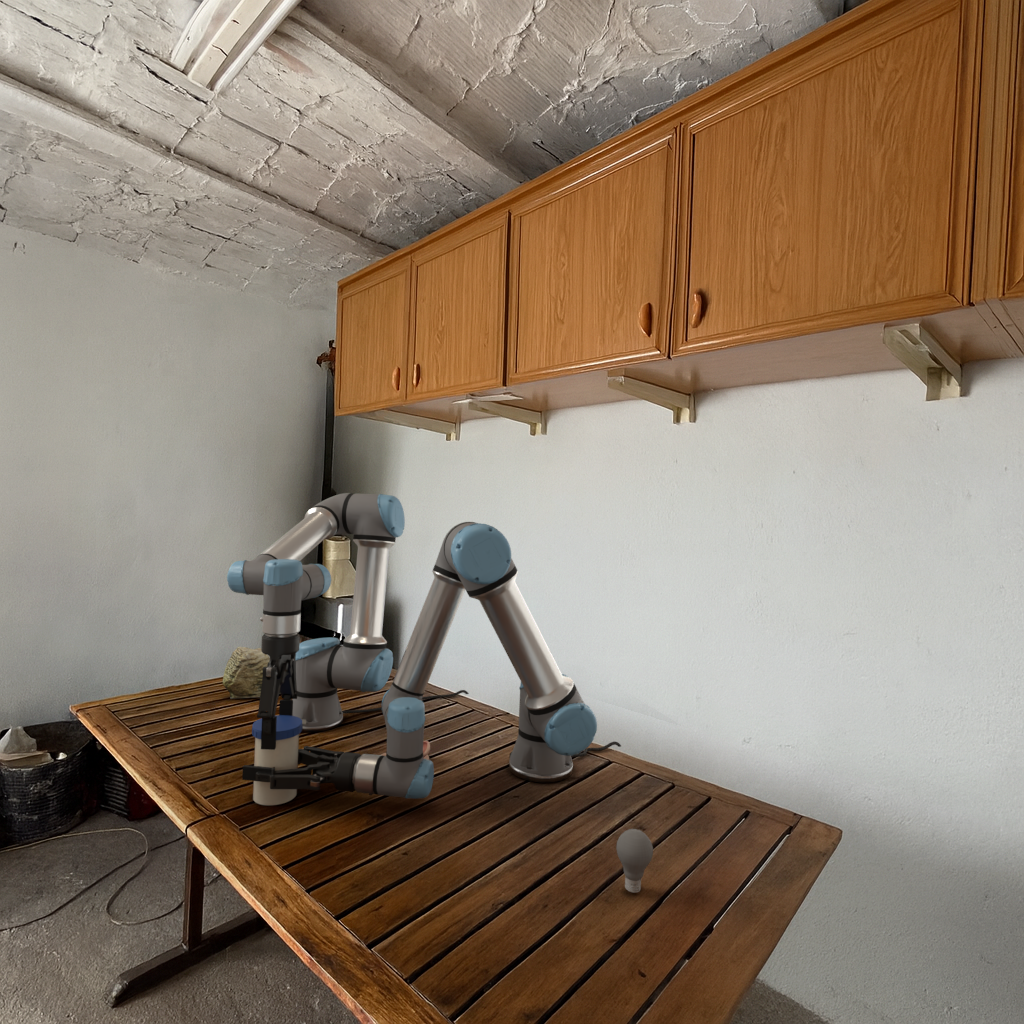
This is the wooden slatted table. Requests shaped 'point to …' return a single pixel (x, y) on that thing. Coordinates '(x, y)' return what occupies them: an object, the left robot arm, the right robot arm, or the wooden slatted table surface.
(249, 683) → the fossil
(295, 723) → the lid
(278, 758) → the jar
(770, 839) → the wooden slatted table surface
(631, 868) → the light bulb
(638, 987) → the wooden slatted table surface
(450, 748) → the wooden slatted table surface
